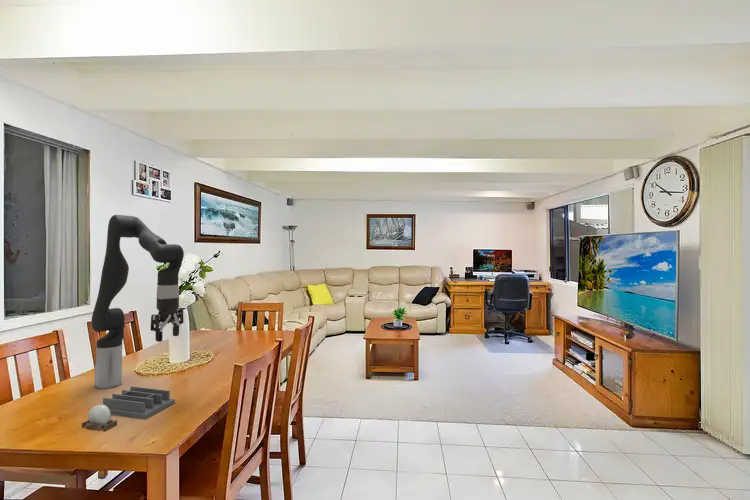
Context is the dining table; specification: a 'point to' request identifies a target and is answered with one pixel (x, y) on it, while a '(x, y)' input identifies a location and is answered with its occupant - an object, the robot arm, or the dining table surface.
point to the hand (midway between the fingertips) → (167, 338)
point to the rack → (138, 402)
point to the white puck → (100, 415)
